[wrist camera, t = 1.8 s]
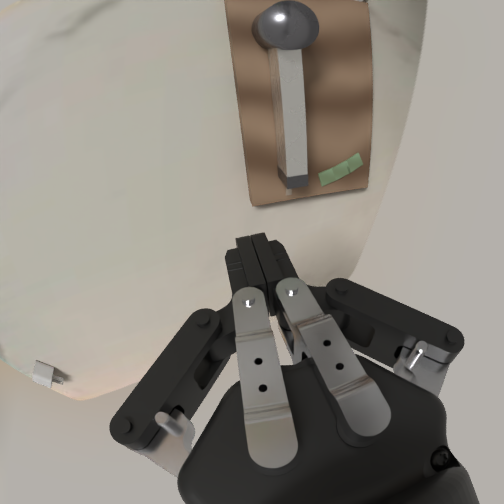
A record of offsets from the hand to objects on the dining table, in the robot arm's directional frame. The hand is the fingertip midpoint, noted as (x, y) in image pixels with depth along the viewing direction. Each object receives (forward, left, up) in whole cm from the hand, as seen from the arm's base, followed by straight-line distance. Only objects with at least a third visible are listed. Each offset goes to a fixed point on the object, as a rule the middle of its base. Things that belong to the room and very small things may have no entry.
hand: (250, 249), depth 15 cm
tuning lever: (-6, +7, -15) cm, 17 cm away
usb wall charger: (+33, -44, -16) cm, 57 cm away
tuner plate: (-5, +10, -16) cm, 19 cm away
